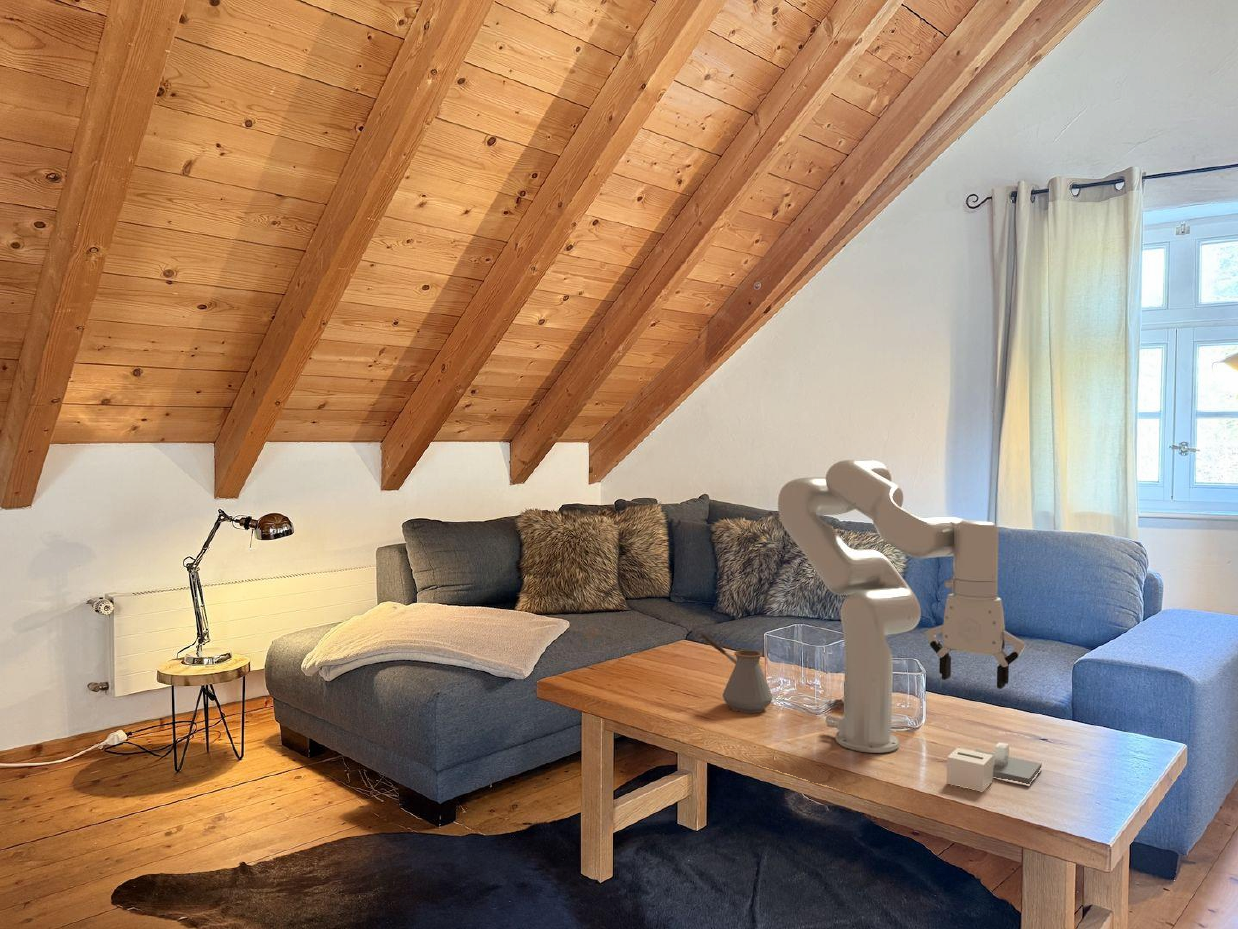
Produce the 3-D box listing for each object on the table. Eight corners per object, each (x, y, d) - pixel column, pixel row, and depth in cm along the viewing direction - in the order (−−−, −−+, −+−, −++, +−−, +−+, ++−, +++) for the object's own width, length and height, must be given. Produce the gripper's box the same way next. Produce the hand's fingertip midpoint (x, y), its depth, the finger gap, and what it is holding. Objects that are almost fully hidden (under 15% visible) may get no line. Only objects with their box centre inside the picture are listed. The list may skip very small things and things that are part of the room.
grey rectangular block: (994, 764, 169) (994, 746, 169) (998, 760, 172) (999, 742, 172) (1004, 766, 168) (1004, 748, 168) (1008, 762, 171) (1009, 744, 171)
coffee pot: (782, 709, 208) (783, 645, 208) (749, 719, 200) (750, 652, 200) (714, 689, 224) (715, 629, 224) (682, 697, 217) (683, 635, 216)
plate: (960, 771, 170) (961, 763, 170) (975, 757, 178) (976, 749, 178) (1028, 787, 163) (1029, 778, 163) (1041, 771, 171) (1041, 763, 171)
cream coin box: (946, 784, 163) (947, 756, 163) (956, 774, 168) (957, 746, 168) (983, 793, 160) (983, 764, 159) (992, 782, 165) (993, 754, 164)
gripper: (920, 586, 165) (918, 679, 166) (1020, 596, 155) (1018, 695, 155) (933, 582, 171) (931, 671, 172) (1030, 591, 161) (1029, 686, 161)
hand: (973, 682), depth 164 cm, fingers open, 9 cm apart
